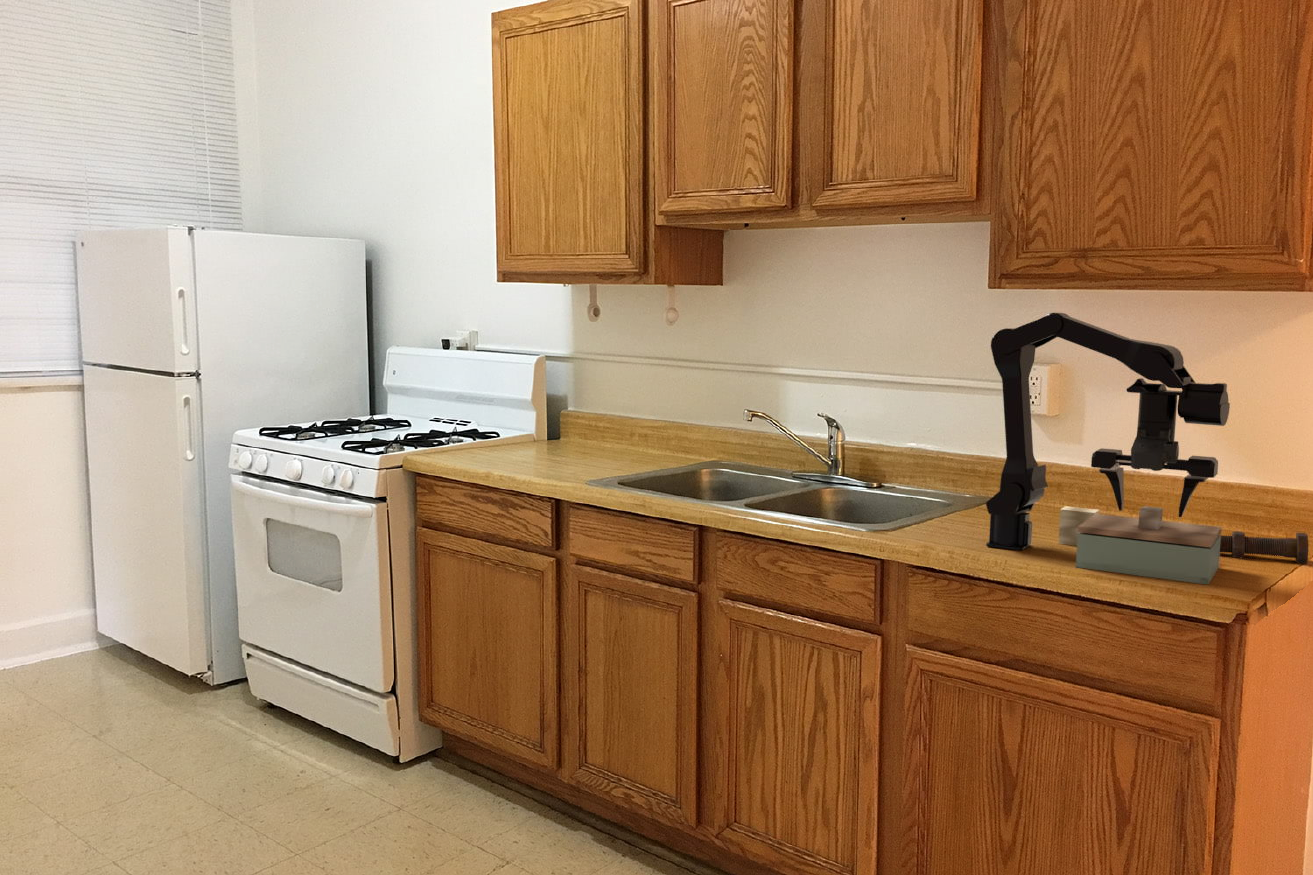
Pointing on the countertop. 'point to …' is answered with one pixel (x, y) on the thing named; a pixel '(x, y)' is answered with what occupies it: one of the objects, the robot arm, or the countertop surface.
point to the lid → (1151, 528)
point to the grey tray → (1148, 557)
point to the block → (1072, 523)
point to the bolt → (1266, 546)
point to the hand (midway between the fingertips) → (1150, 513)
